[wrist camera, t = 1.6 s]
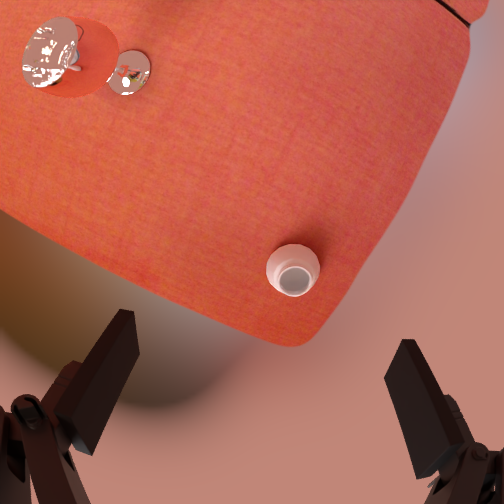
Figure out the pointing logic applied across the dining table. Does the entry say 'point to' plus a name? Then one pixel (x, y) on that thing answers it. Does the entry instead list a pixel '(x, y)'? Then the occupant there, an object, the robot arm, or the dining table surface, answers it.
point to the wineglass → (81, 59)
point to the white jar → (293, 269)
